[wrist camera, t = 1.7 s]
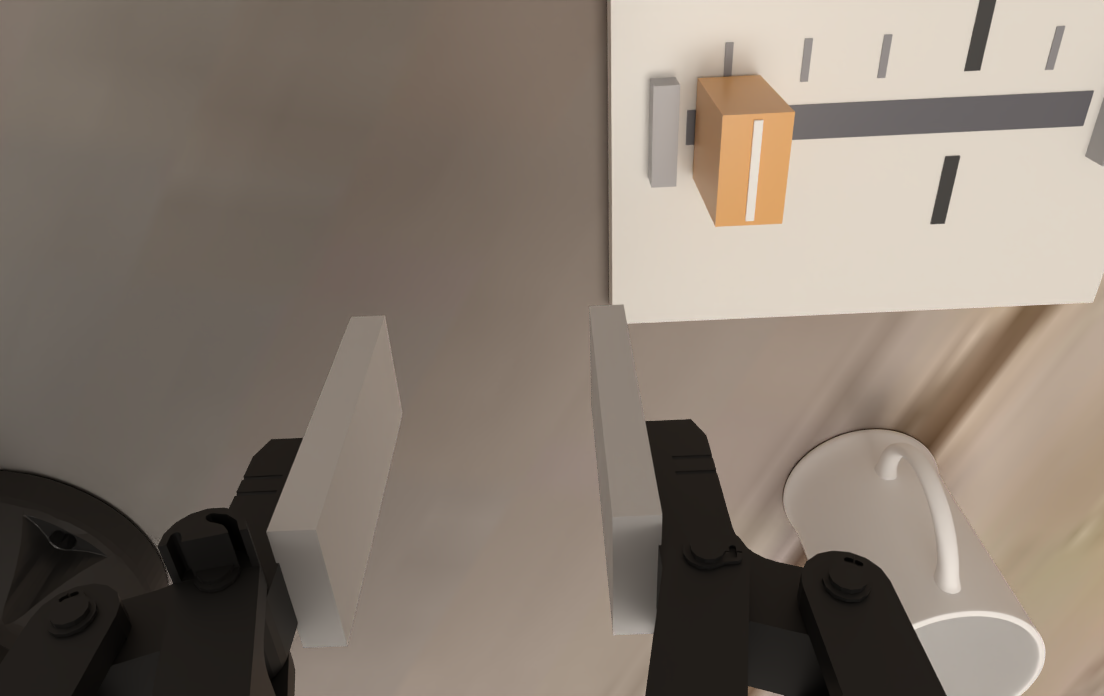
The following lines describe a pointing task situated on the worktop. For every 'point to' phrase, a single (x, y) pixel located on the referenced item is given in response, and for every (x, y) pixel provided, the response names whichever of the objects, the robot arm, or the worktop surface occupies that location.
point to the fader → (742, 150)
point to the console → (863, 156)
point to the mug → (918, 556)
